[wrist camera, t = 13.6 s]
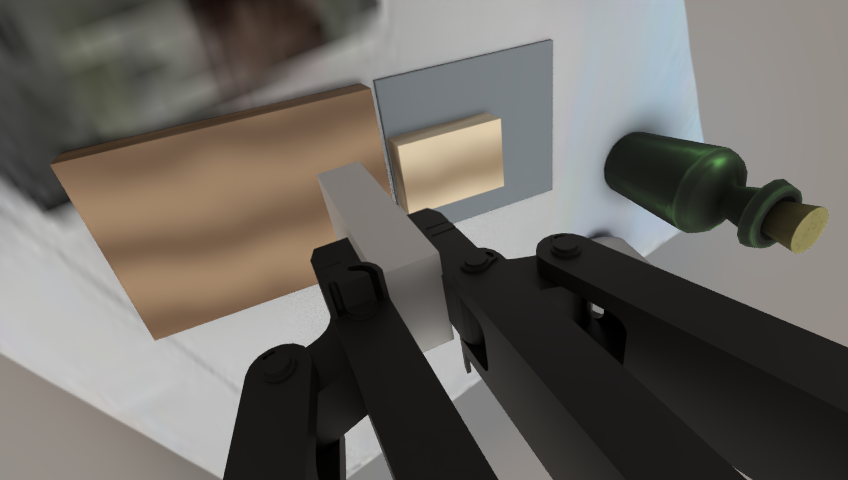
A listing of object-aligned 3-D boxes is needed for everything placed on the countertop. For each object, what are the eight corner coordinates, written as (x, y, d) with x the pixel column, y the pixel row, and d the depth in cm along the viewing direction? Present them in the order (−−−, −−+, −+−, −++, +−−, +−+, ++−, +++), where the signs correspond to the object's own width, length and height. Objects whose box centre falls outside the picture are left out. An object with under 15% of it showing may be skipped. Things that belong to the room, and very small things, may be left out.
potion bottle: (637, 201, 52) (807, 279, 38) (586, 193, 48) (752, 277, 34) (668, 130, 49) (865, 185, 35) (616, 116, 46) (812, 171, 31)
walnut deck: (60, 153, 29) (50, 164, 27) (360, 83, 34) (370, 88, 32) (157, 321, 36) (154, 340, 34) (393, 241, 42) (403, 253, 39)
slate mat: (373, 80, 35) (375, 81, 34) (549, 39, 39) (552, 39, 39) (403, 238, 42) (405, 240, 41) (549, 188, 46) (552, 189, 46)
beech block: (386, 138, 37) (397, 146, 35) (485, 112, 39) (500, 118, 37) (399, 205, 40) (409, 216, 38) (489, 177, 42) (504, 186, 40)
